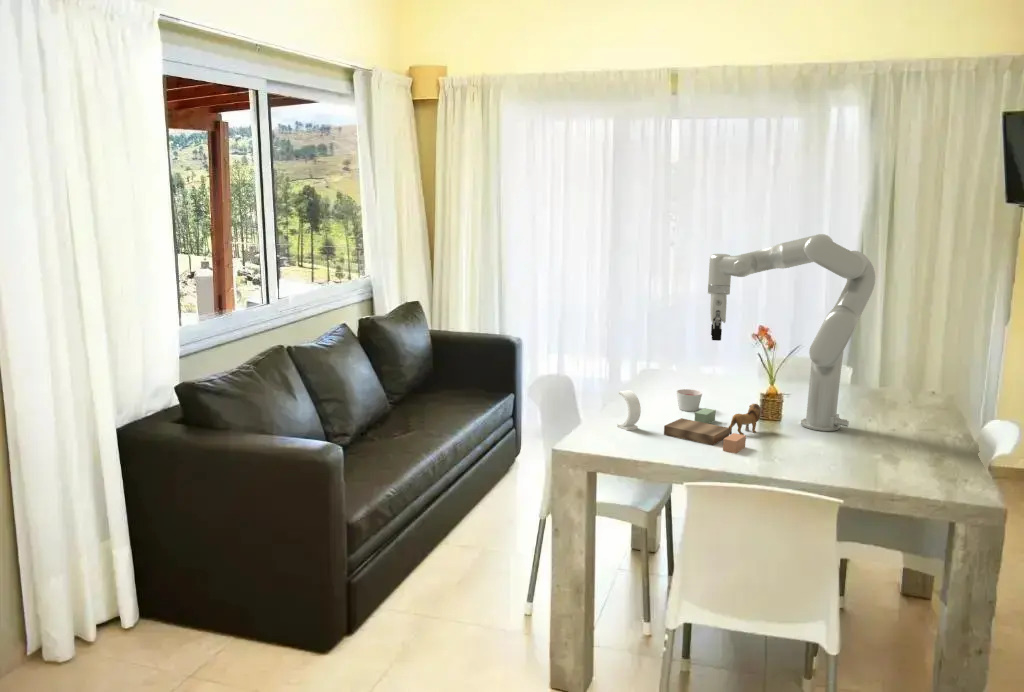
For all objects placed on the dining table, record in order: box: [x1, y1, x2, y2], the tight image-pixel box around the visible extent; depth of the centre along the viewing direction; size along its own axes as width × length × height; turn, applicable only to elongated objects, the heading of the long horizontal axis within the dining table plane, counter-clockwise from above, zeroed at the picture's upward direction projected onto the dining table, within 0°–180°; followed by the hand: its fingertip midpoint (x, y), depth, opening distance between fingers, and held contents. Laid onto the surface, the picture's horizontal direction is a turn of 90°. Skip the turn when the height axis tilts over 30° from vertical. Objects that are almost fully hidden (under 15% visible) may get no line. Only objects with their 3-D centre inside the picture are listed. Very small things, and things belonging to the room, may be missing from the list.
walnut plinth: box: [663, 417, 729, 446], centre depth 273 cm, size 17×12×3 cm
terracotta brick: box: [722, 432, 747, 454], centre depth 260 cm, size 8×4×4 cm, turn 144°
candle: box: [676, 388, 703, 412], centre depth 306 cm, size 9×9×6 cm
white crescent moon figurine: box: [617, 389, 642, 431], centre depth 280 cm, size 5×6×12 cm
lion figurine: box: [727, 403, 762, 435], centre depth 278 cm, size 15×5×9 cm, turn 130°
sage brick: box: [694, 407, 716, 424], centre depth 290 cm, size 8×4×4 cm, turn 144°
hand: (715, 337), depth 299 cm, fingers open, 9 cm apart
